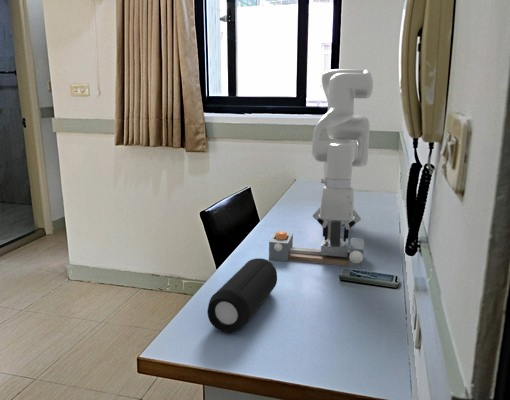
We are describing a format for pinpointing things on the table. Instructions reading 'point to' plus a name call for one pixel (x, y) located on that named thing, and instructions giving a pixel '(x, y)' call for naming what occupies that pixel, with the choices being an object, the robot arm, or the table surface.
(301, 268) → the table surface
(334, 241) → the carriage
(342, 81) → the robot arm
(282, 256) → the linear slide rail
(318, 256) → the rail base
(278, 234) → the button
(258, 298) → the portable speaker
